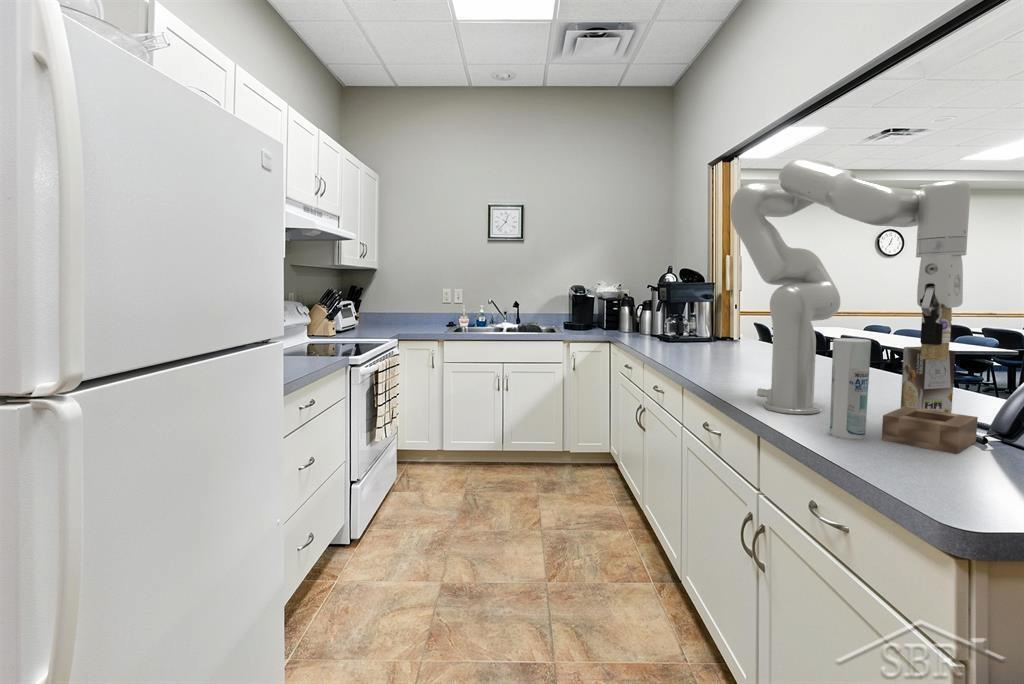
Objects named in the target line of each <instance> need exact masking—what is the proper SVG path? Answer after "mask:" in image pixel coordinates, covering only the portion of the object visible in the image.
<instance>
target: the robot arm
mask: <svg viewBox="0 0 1024 684" xmlns="http://www.w3.org/2000/svg"><path fill="white" fill-rule="evenodd" d="M970 202H971V186H970V184H969V183H968V182H966V181H964V180H948V181H940V182H939V181H938V182H934V183H933V182H932V183H931V184H927V185H925V186H924V187H922V188H921V189H913V188H912V189H911V188H901V187H891V186H890V187H889V186H884V185H881V184H880V185H879V184H876V183H872V182H868V181H864V180H861V179H858V178H857V176H856V174H855V172H853V171H851V170H850V169H845V168H842V167H841V168H840V167H837V166H836V165H835V164H833V163H831V162H828V161H825V160H815V159H809V158H799V159H798V158H797V159H794V160H791V161H789V162H787V163H786V164H785V165H784V166H783V167H782V168H781V169H780V171H779V175H778V183H771V182H770V183H769V182H751V183H747V184H745V185H743V186H741V187H740V188H739V189H738V190H736V192H735V194H734V195H733V197H732V200H731V203H730V211H729V213H730V220H731V223H732V226H733V228H734V230H735V232H736V234H737V235H738V237H739V239H740V240H741V242H742V244H743V246H745V248H746V250H747V253H748V255H749V256H750V258H751V261H752V262H753V265H754V266H755V268H756V270H757V272H758V274H759V276H760V278H761V279H762V281H763V282H764V283H766V284H768V285H772V286H779V287H778V288H776V289H775V290H774V291H773V293H772V294H771V296H770V298H769V299H770V300H769V312H770V316H771V323H772V325H771V326H772V355H771V356H772V357H771V358H772V359H771V361H772V362H771V384H770V385H771V386H770V388H769V389H766V388H761V387H759V388H758V389H757V390H756V393H757V394H756V396H757V397H760V398H761V397H762V398H763V397H764V398H765V399H766V401H764V402H763V407H764V408H765V409H766V410H769V411H772V412H776V413H781V414H790V415H812V414H813V415H814V414H819V413H820V412H821V406H820V405H819V404H817V403H815V401H814V399H815V377H816V376H815V375H816V372H815V371H816V356H817V355H816V352H817V348H816V347H817V338H816V333H815V329H814V327H813V324H812V322H814V321H817V322H818V321H823V320H829V319H830V318H833V317H834V316H835V315H837V313H838V312H839V310H840V307H841V296H840V293H839V290H838V287H836V284H835V283H834V281H833V280H832V278H831V275H830V274H829V272H828V271H827V269H826V267H825V265H824V264H823V262H822V261H821V259H820V257H819V256H818V255H816V254H815V253H814V252H813V251H811V250H810V249H806V248H800V247H799V248H797V247H790V246H788V244H787V243H786V242H785V241H784V239H783V238H782V236H781V233H780V232H779V230H778V228H776V227H775V226H774V225H773V224H772V223H771V222H770V221H769V220H768V219H767V218H785V217H788V216H789V217H790V216H792V215H794V214H796V213H799V212H801V210H803V209H806V208H808V207H810V206H811V205H814V204H818V205H821V206H824V207H827V208H829V209H830V210H831V211H833V212H835V213H837V214H839V215H841V216H843V217H846V218H849V219H852V220H855V221H858V222H861V223H864V224H867V225H871V226H877V227H894V228H911V227H916V226H917V229H916V230H917V232H916V233H917V234H916V248H915V249H916V250H915V251H916V252H915V253H916V254H915V258H920V263H919V271H918V278H917V280H918V281H917V288H916V289H917V291H916V292H917V294H916V296H917V297H916V303H917V305H918V306H919V307H920V308H921V325H920V327H921V328H920V340H919V342H920V345H921V344H929V345H941V344H942V333H943V324H940V323H941V318H942V310H943V304H944V307H945V308H951V325H953V324H952V318H953V316H952V315H953V310H952V308H959V307H960V306H962V305H963V301H964V299H963V298H964V296H963V295H964V292H963V291H964V283H963V282H964V279H963V278H964V275H963V274H964V271H963V269H964V267H963V258H962V257H963V256H967V250H968V236H969V235H968V233H969V216H970ZM766 217H767V218H766ZM923 296H924V299H923ZM932 304H939V307H932ZM935 311H937V315H936V312H935ZM951 335H952V331H951V332H950V341H951V339H952V338H951Z"/></svg>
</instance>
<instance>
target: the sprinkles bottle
mask: <svg viewBox="0 0 1024 684" xmlns="http://www.w3.org/2000/svg"><path fill="white" fill-rule="evenodd" d="M923 299H924V296H923ZM932 307H939V304H932ZM935 312H936V315H937V311H935ZM951 323H952V321H951V308H945V307H944V304H943V310H942V318H941V323H940V324H943V333H942V344H941V345H929V344H921V343H920V345H921V346H920V347H921V355H920V358H921V359H925V360H948V359H949V356H948V354H949V350H950V343H951V340H950V332H951V333H952V324H951Z"/></svg>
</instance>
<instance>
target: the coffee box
mask: <svg viewBox="0 0 1024 684" xmlns="http://www.w3.org/2000/svg"><path fill="white" fill-rule="evenodd" d="M902 353H903V355H902V356H903V357H902V376H901V396H900V397H901V398H900V408H902V407H911V408H918V409H925V410H932V411H939V412H946V413H952V410H953V409H952V407H953V394H954V378H955V377H954V376H955V363H956V350H950V349H949V354H948V356H949V359H948V360H925V359H921V358H920V355H921V346H905V347H903V352H902Z"/></svg>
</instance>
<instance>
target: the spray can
mask: <svg viewBox="0 0 1024 684" xmlns="http://www.w3.org/2000/svg"><path fill="white" fill-rule="evenodd" d="M871 348H872V340H870V339H866V338H855V337H854V338H850V337H848V338H847V337H840V338H839V337H838V338H833V340H832V361H831V362H832V364H831V384H830V385H831V390H830V413H829V415H830V416H829V418H830V419H829V434H830V436H833V437H835V436H836V438H839V437H840V439H844V438H845V439H844V440H863V439H865V438H866V429H867V415H868V414H867V413H868V412H867V411H868V399H869V398H868V397H869V383H870V381H869V379H870V367H871Z"/></svg>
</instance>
